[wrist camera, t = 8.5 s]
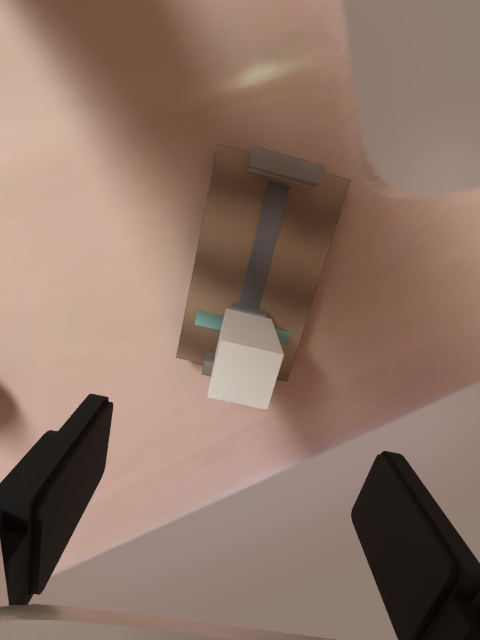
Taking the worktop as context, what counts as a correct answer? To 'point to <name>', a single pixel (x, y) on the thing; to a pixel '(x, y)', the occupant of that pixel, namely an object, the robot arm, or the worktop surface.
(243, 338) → the fader
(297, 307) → the wooden slider board
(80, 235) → the worktop surface
